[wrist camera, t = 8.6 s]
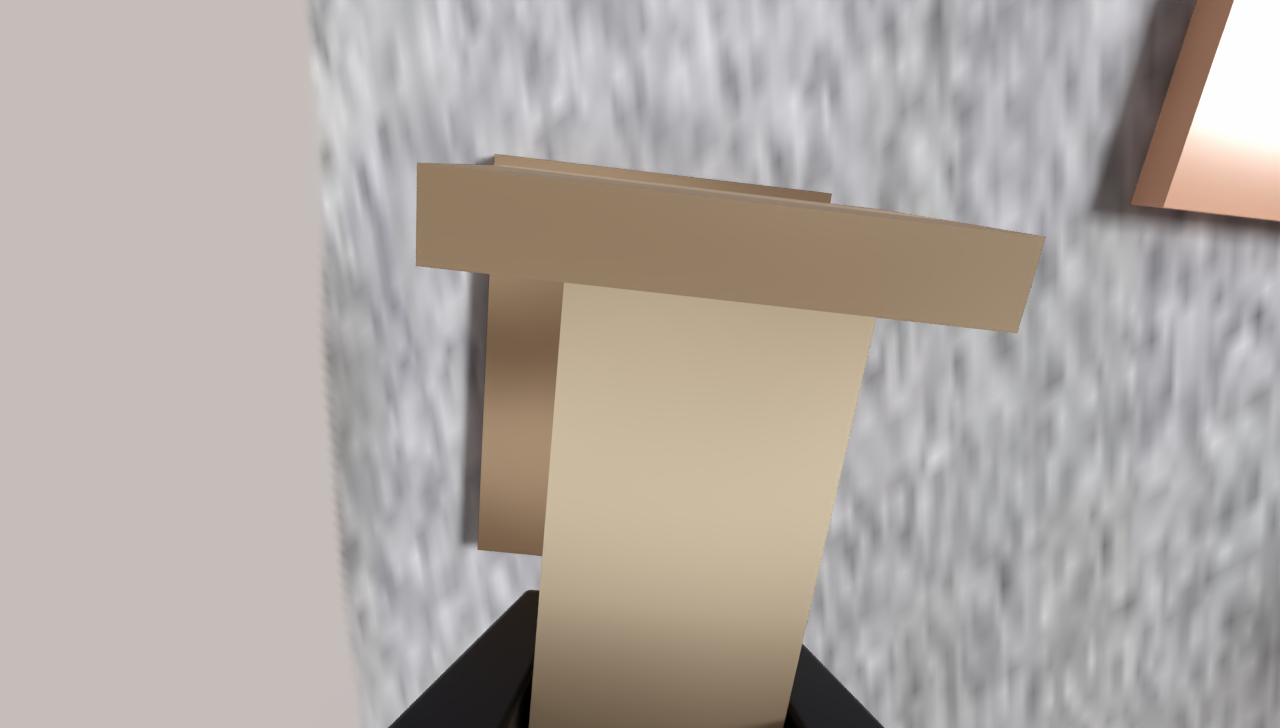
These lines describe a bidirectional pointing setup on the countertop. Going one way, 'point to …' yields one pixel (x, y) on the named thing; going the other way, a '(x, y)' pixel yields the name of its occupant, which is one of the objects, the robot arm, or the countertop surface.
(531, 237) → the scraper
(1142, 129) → the countertop surface
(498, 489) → the trivet
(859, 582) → the countertop surface
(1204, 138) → the tile
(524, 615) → the robot arm
